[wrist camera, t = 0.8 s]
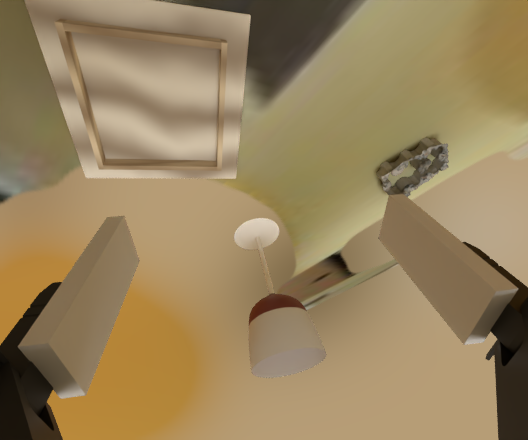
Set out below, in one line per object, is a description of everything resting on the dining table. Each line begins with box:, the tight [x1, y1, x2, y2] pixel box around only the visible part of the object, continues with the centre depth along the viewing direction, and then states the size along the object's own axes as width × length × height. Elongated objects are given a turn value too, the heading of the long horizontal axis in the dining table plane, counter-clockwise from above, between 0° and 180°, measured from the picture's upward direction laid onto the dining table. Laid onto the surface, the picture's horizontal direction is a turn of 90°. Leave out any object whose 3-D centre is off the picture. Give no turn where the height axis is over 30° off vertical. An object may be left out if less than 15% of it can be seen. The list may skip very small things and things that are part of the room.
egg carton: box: [377, 137, 449, 197], centre depth 46 cm, size 11×8×4 cm
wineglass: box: [234, 218, 326, 378], centre depth 43 cm, size 9×10×23 cm
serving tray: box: [24, 0, 251, 179], centre depth 32 cm, size 20×20×2 cm
